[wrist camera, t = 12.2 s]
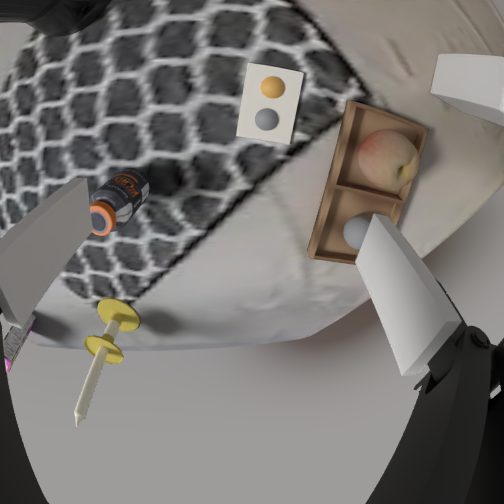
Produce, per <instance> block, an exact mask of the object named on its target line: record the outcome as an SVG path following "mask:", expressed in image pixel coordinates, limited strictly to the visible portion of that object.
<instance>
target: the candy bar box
mask: <svg viewBox="0 0 504 504" xmlns="http://www.w3.org/2000/svg"><path fill="white" fill-rule="evenodd" d="M35 319H36V316H35V315H34V314H31V315H30V317H29V318H28V320H27V322H26V323H25V325H24V327H23V328H22V329H20V328H18V327H15V326H13V325H12V327H11V329H10V330H9V332H8V334H7V335H6V337H5V339H4V341H3V349H4V358H5V366H6V371H7V372H9V371H10V369H11V367H12V365H13V363H14V361H15V359H16V357H17V355H18V353H19V351H20V349H21V347H22V345H23V344H24V342H25V340H26V338H27V336H28V334H29V333H30V331H31V328H32V326H33V324H34V322H35Z"/></svg>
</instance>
